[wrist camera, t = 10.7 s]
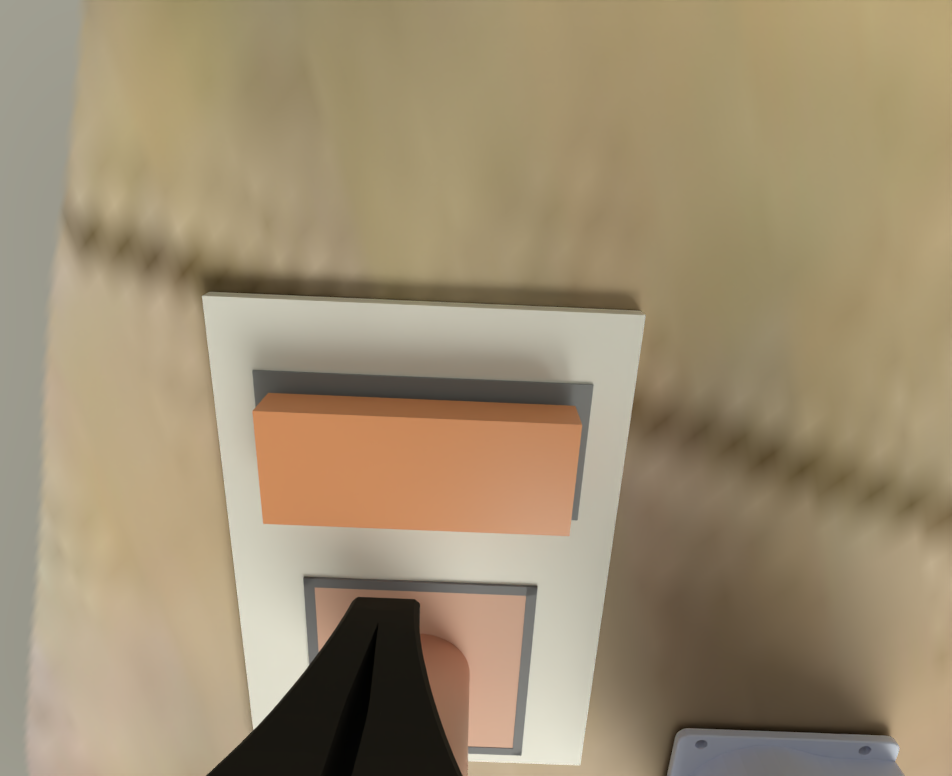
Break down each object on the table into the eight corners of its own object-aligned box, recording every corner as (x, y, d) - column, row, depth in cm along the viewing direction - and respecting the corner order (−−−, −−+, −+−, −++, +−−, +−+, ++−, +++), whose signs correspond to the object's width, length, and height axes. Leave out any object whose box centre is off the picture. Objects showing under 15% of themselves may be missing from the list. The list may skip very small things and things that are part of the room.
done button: (575, 405, 20) (582, 424, 19) (563, 511, 22) (569, 536, 20) (268, 392, 20) (252, 411, 19) (277, 499, 22) (263, 523, 20)
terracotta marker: (473, 635, 24) (470, 815, 18) (468, 713, 26) (464, 906, 19) (368, 630, 24) (326, 808, 18) (369, 708, 26) (331, 901, 19)
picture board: (640, 310, 20) (646, 316, 19) (578, 752, 27) (580, 768, 27) (209, 291, 20) (200, 296, 19) (260, 741, 27) (254, 756, 27)
